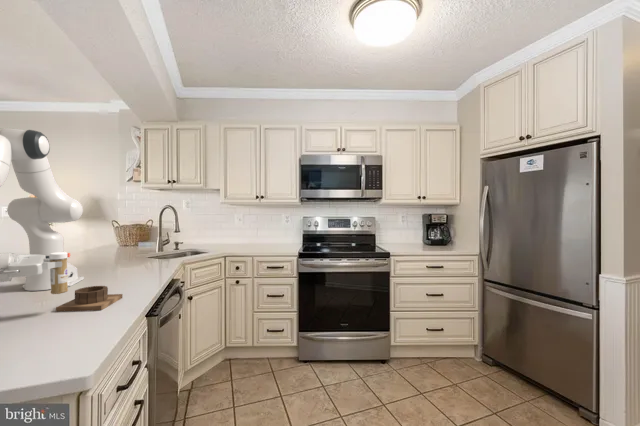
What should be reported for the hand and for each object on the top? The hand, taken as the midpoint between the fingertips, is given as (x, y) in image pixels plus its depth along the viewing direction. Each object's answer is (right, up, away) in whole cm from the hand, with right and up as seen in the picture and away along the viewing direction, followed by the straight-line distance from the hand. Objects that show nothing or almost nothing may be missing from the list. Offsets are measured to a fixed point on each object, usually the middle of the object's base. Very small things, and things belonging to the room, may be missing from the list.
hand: (62, 262), depth 101 cm
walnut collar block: (+4, -16, +8) cm, 18 cm away
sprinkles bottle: (-1, -10, 0) cm, 10 cm away
